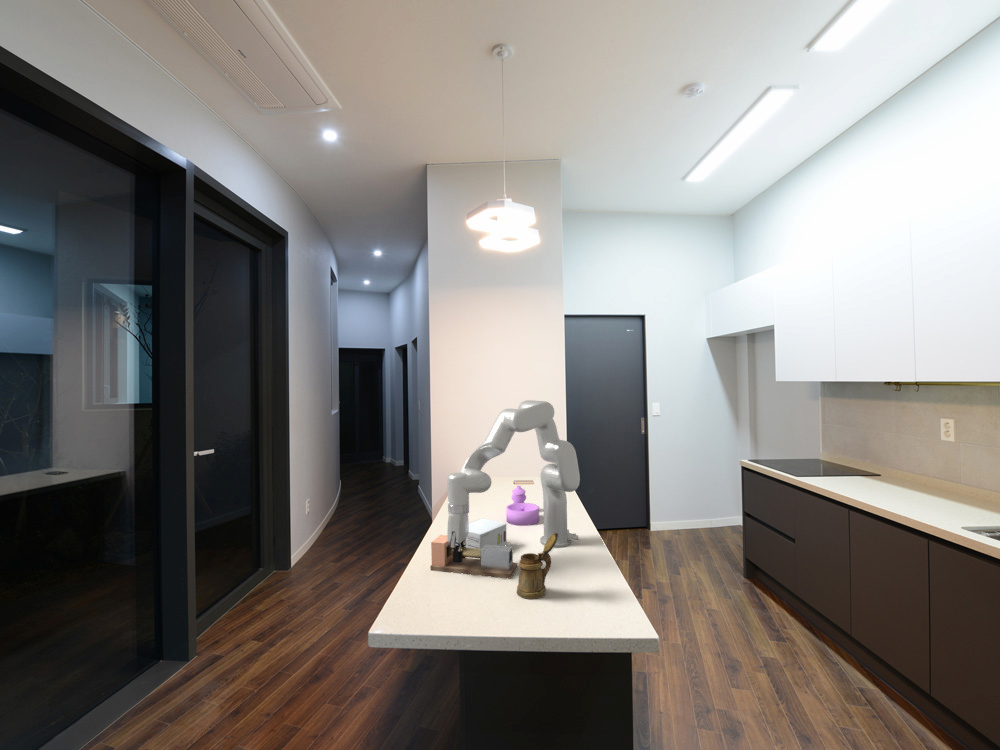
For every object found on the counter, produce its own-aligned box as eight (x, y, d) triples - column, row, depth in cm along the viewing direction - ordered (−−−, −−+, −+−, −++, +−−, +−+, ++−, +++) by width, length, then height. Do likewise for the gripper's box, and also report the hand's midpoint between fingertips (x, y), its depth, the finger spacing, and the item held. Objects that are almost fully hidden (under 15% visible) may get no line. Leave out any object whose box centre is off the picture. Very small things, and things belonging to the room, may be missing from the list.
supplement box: (480, 559, 173) (480, 534, 173) (454, 552, 181) (454, 528, 181) (507, 546, 186) (507, 522, 186) (482, 539, 194) (481, 517, 194)
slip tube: (497, 558, 164) (496, 548, 164) (494, 561, 161) (494, 551, 161) (443, 552, 170) (443, 543, 170) (439, 556, 166) (439, 546, 166)
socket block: (453, 557, 171) (452, 535, 171) (444, 566, 163) (444, 543, 163) (440, 556, 172) (440, 534, 172) (431, 564, 165) (431, 542, 165)
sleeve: (512, 565, 163) (512, 546, 163) (509, 571, 158) (508, 551, 158) (485, 562, 166) (485, 544, 166) (481, 568, 161) (480, 549, 161)
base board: (517, 567, 165) (517, 562, 165) (510, 578, 156) (510, 574, 156) (441, 559, 173) (441, 555, 173) (430, 570, 164) (430, 565, 164)
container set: (541, 525, 212) (541, 496, 212) (508, 526, 210) (507, 497, 211) (533, 509, 237) (532, 483, 237) (503, 511, 235) (502, 484, 236)
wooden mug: (562, 596, 142) (561, 537, 142) (519, 600, 140) (518, 540, 140) (555, 584, 151) (554, 528, 151) (514, 587, 149) (513, 531, 149)
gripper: (457, 501, 175) (458, 550, 175) (439, 514, 159) (440, 568, 159) (476, 502, 173) (477, 552, 173) (460, 515, 157) (461, 570, 157)
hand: (459, 559), depth 166 cm, fingers closed on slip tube, 3 cm apart
